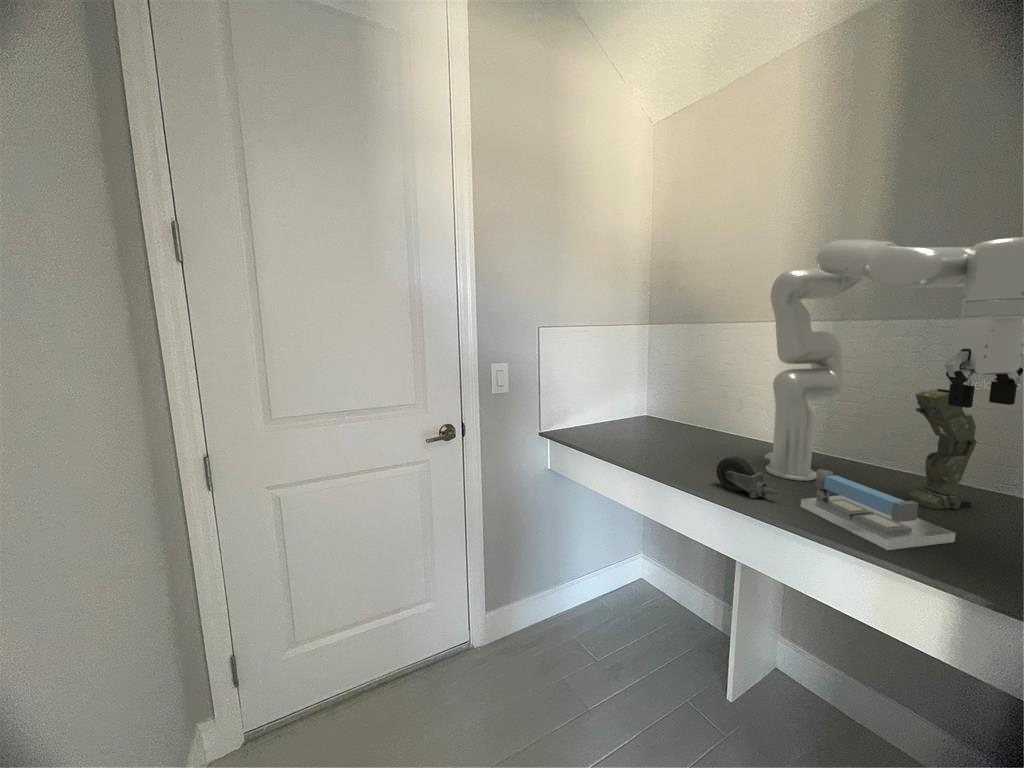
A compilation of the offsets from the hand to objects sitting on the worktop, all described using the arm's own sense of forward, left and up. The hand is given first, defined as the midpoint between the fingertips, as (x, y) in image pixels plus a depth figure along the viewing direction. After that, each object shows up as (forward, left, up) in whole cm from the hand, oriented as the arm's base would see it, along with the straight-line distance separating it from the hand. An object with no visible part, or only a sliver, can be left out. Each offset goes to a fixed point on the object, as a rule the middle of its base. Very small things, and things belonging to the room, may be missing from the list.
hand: (980, 404), depth 74 cm
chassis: (-13, -5, -29) cm, 32 cm away
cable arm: (-14, -8, -24) cm, 29 cm away
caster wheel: (-33, -20, -29) cm, 48 cm away
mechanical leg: (-18, +20, -29) cm, 40 cm away
